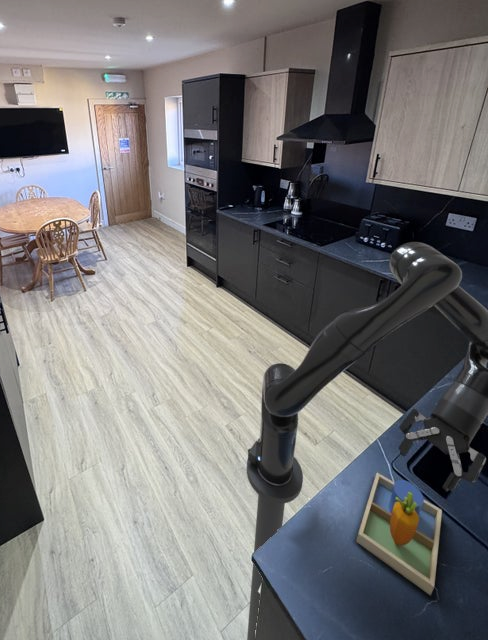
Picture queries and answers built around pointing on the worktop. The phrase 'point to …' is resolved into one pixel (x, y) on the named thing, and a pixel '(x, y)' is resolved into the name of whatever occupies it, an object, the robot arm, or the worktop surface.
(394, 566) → the sorting tray
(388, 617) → the worktop surface
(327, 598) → the worktop surface
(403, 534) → the carrot
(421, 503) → the blue cylinder
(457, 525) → the worktop surface
